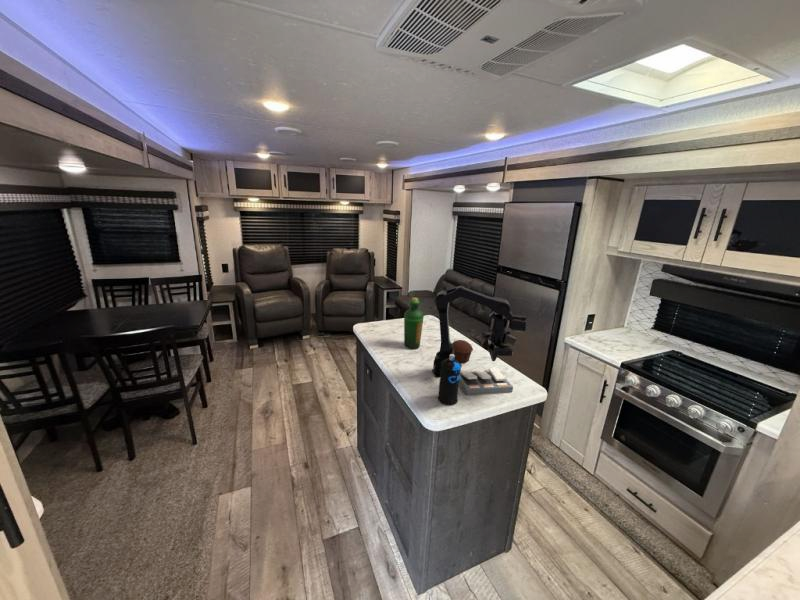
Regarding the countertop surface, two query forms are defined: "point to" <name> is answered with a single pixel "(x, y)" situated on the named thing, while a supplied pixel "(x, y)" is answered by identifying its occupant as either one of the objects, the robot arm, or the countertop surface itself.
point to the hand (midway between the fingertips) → (493, 360)
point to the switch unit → (484, 385)
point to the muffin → (462, 351)
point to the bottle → (413, 325)
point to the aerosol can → (449, 381)
